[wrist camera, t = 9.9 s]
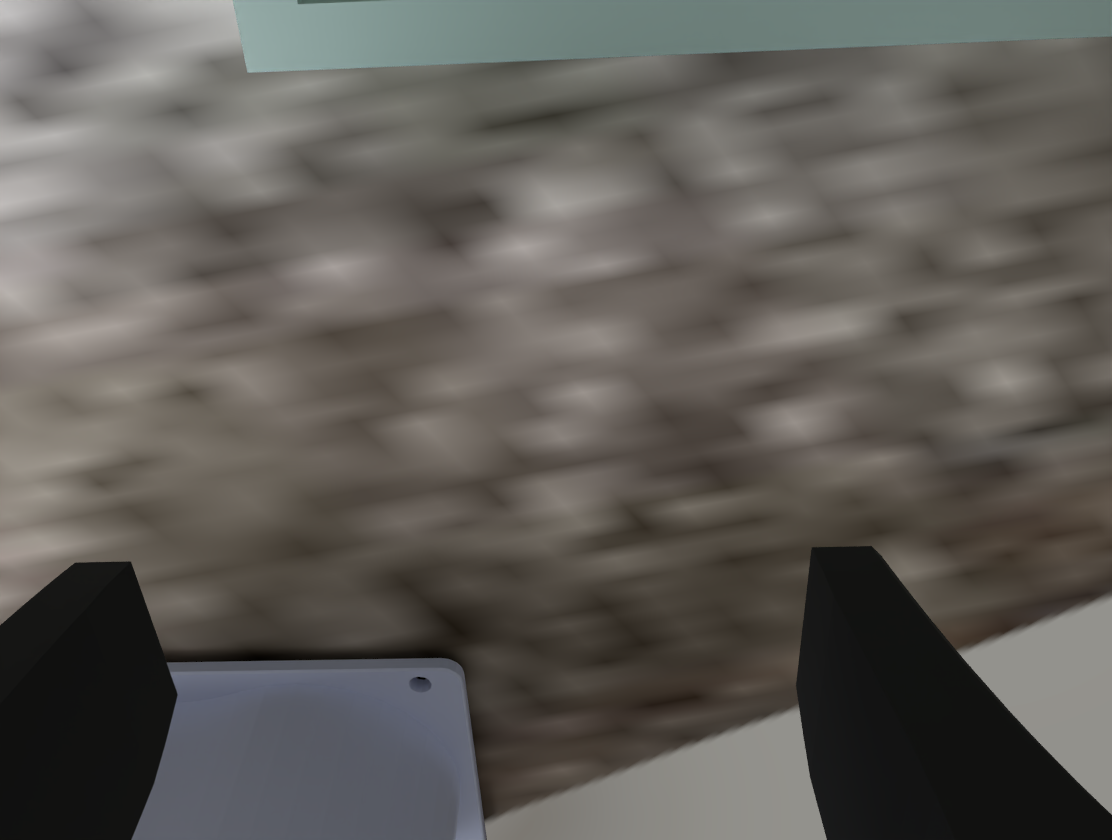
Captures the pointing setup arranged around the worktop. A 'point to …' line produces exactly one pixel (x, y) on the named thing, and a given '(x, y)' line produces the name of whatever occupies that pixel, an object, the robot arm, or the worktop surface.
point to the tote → (627, 28)
